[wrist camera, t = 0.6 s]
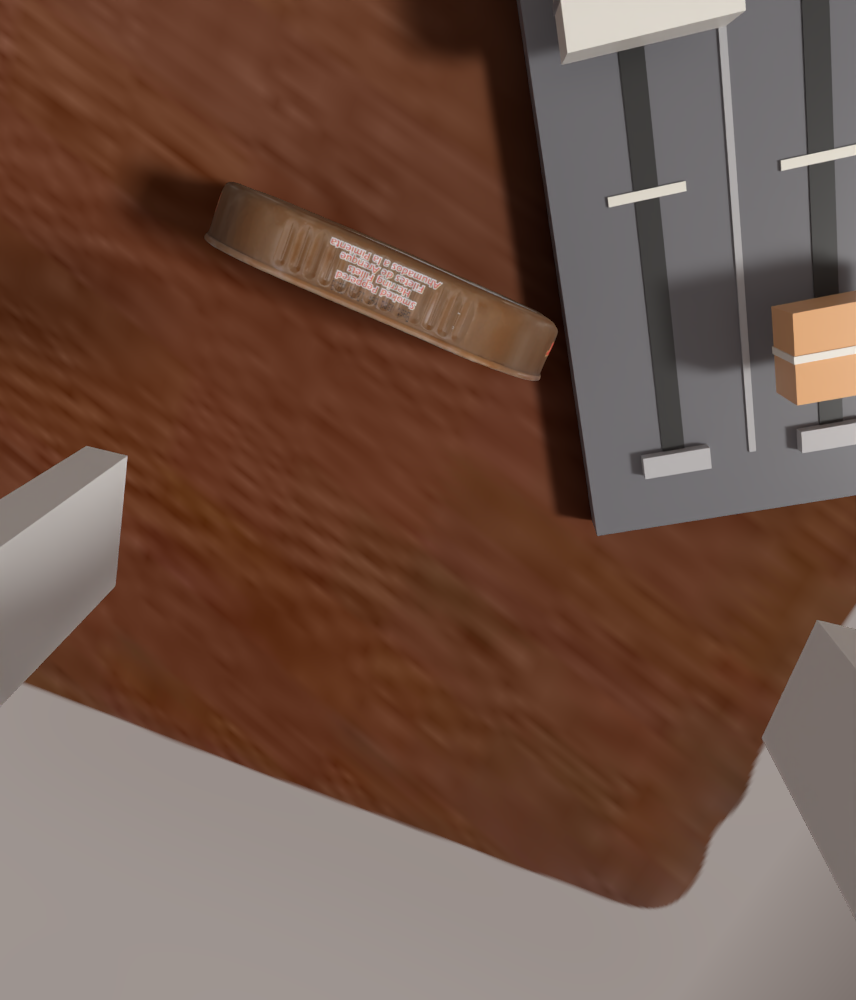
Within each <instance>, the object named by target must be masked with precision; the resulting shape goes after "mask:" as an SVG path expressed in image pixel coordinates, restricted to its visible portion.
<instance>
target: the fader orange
mask: <svg viewBox="0 0 856 1000" xmlns="http://www.w3.org/2000/svg"><path fill="white" fill-rule="evenodd" d="M771 311H772V327H773V344H774V346H773V347H772V354H774V361H775V378H776V393H778V394H780V395H781V396H783V397H784V398H786V399H788V400H789V401H791V402H792V403H794V404H796V405H797V406H798V405H804V404H810V403H815V402H821V401H827V400H833V399H838V398H844V397H850V396H856V290H855V291H850V292H845V293H839V294H834V295H829V296H824V297H818V298H813V299H808V300H803V301H798V302H792V303H787V304H782V305H777V306H771Z"/></svg>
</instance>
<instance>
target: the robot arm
mask: <svg viewBox="0 0 856 1000" xmlns="http://www.w3.org/2000/svg"><path fill="white" fill-rule="evenodd" d="M126 466H127V456H126V455H122V454H118V453H114V452H109V451H105V450H101V449H97V448H93V447H88V446H86V447H84V448H83V449H81V450H79V451H78V452H76V453H75V454H73V455H71V456H70V457H68V458H66V459H65V460H63V461H62V462H60V463H58V464H57V465H55V466H54V467H52V468H50V469H49V470H47V471H45V472H44V473H42V474H41V475H39V476H37V477H36V478H34V479H33V480H31V481H29V482H28V483H26V484H24V485H23V486H21V487H20V488H18V489H16V490H15V491H13V492H12V493H10V494H8V495H7V496H5V497H3V498H2V499H0V706H1V705H2V704H3V703H4V702H5V701H6V700H7V699H8V698H9V697H10V696H11V695H12V694H13V692H14V691H16V690H17V688H18V687H19V686H20V685H21V684H22V683H23V682H24V681H25V680H26V679H27V678H28V677H29V676H30V675H31V674H32V673H33V672H34V671H35V670H36V669H37V668H38V667H39V665H40V664H41V663H42V662H43V661H44V660H45V659H46V658H47V657H48V656H49V655H50V654H51V653H52V652H53V651H54V650H55V649H56V648H57V647H58V646H59V645H60V644H61V642H62V641H63V640H64V639H65V638H66V637H67V636H68V635H69V634H70V633H71V632H72V631H73V630H74V629H75V628H76V627H77V626H78V625H79V624H80V623H81V622H82V620H83V619H84V618H85V617H86V616H87V615H88V614H89V613H90V612H91V611H92V610H93V609H94V608H95V607H96V606H97V605H98V604H99V603H100V602H101V601H102V600H103V599H104V597H105V596H106V595H107V594H108V593H109V592H110V591H111V590H112V589H113V588H114V587H115V584H116V573H117V562H118V552H119V541H120V530H121V520H122V509H123V498H124V488H125V477H126ZM762 740H763V742H764V744H765V745H766V747H767V749H768V751H769V753H770V755H771V757H772V759H773V761H774V763H775V765H776V767H777V769H778V771H779V773H780V774H781V776H782V778H783V780H784V782H785V784H786V786H787V788H788V790H789V792H790V794H791V796H792V798H793V800H794V802H795V804H796V806H797V808H798V809H799V811H800V813H801V815H802V817H803V819H804V821H805V823H806V825H807V827H808V829H809V831H810V833H811V835H812V837H813V839H814V841H815V843H816V845H817V846H818V848H819V850H820V852H821V854H822V856H823V858H824V860H825V862H826V864H827V866H828V868H829V870H830V872H831V874H832V875H833V877H834V880H835V881H836V883H837V885H838V887H839V889H840V891H841V893H842V895H843V897H844V899H845V901H846V903H847V905H848V907H849V909H850V911H851V912H852V914H853V916H854V918H855V920H856V629H852V628H848V627H844V626H840V625H836V624H832V623H828V622H823V621H819V620H817V621H816V623H815V626H814V628H813V630H812V632H811V634H810V636H809V638H808V640H807V643H806V645H805V647H804V649H803V651H802V653H801V655H800V657H799V660H798V662H797V664H796V666H795V668H794V670H793V672H792V675H791V677H790V679H789V681H788V683H787V685H786V687H785V689H784V692H783V694H782V696H781V698H780V700H779V702H778V704H777V706H776V709H775V711H774V713H773V715H772V717H771V719H770V721H769V724H768V726H767V728H766V730H765V732H764V734H763V736H762Z"/></svg>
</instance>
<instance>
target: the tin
mask: <svg viewBox="0 0 856 1000" xmlns="http://www.w3.org/2000/svg"><path fill="white" fill-rule="evenodd" d="M204 238H205V240H206V241H207V242H208V243H209V244H211V245H212V246H214V247H215V248H217V249H219V250H221V251H223V252H224V253H226V254H229V255H230V256H232V257H234V258H236V259H238V260H240V261H242V262H244V263H246V264H249V265H251V266H253V267H255V268H257V269H259V270H262V271H263V272H266V273H269V274H271V275H273V276H275V277H277V278H280V279H282V280H284V281H287V282H289V283H291V284H294V285H296V286H298V287H300V288H303V289H305V290H307V291H310V292H312V293H315V294H317V295H319V296H321V297H324V298H326V299H328V300H331V301H333V302H335V303H337V304H340V305H343V306H345V307H347V308H349V309H352V310H354V311H357V312H359V313H361V314H364V315H366V316H368V317H370V318H373V319H375V320H377V321H380V322H382V323H384V324H387V325H389V326H392V327H394V328H396V329H399V330H401V331H403V332H405V333H407V334H410V335H412V336H415V337H417V338H419V339H422V340H424V341H426V342H428V343H431V344H433V345H435V346H438V347H440V348H442V349H444V350H447V351H449V352H451V353H454V354H456V355H458V356H461V357H463V358H466V359H468V360H471V361H473V362H476V363H479V364H481V365H484V366H487V367H489V368H491V369H494V370H498V371H500V372H504V373H506V374H509V375H512V376H515V377H518V378H522V379H526V380H530V381H538V380H539V379H540V377H541V375H540V372H541V370H542V368H543V365H544V363H545V361H546V359H547V357H548V355H549V352H550V350H551V348H552V346H553V344H554V341H555V339H556V336H557V333H558V330H557V328H556V326H555V324H554V323H553V322H552V321H551V320H550V319H548V318H546V317H545V316H544V315H543V314H541V313H539V312H538V311H536V310H533V309H531V308H529V307H527V306H525V305H522V304H520V303H518V302H516V301H514V300H511V299H509V298H507V297H505V296H503V295H500V294H498V293H496V292H493V291H491V290H489V289H487V288H484V287H482V286H480V285H478V284H475V283H473V282H471V281H469V280H466V279H464V278H462V277H460V276H457V275H455V274H453V273H451V272H449V271H447V270H444V269H442V268H440V267H438V266H436V265H433V264H431V263H429V262H427V261H425V260H422V259H420V258H418V257H416V256H414V255H411V254H409V253H407V252H404V251H402V250H400V249H398V248H395V247H393V246H391V245H389V244H386V243H384V242H381V241H379V240H377V239H374V238H372V237H370V236H367V235H365V234H363V233H360V232H358V231H355V230H353V229H351V228H348V227H346V226H343V225H341V224H338V223H336V222H333V221H331V220H329V219H326V218H324V217H322V216H319V215H317V214H315V213H312V212H310V211H307V210H305V209H303V208H300V207H298V206H295V205H293V204H291V203H288V202H286V201H283V200H281V199H279V198H276V197H274V196H271V195H268V194H266V193H263V192H260V191H256V190H254V189H251V188H249V187H246V186H244V185H241V184H238V183H235V182H229V183H227V184H226V185H225V186H224V188H223V190H222V192H221V195H220V198H219V201H218V204H217V207H216V210H215V213H214V217H213V220H212V223H211V226H210V229H209V231H208V232H207V233H206V234H205V236H204Z"/></svg>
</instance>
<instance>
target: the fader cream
mask: <svg viewBox="0 0 856 1000" xmlns="http://www.w3.org/2000/svg"><path fill="white" fill-rule="evenodd" d="M552 9H553V16H555V20H556V27H557V35H558V43H559V50H560V58H561V65H564V64H568V63H572V62H576V61H581V60H585V59H589V58H593V57H597V56H602V55H606V54H610V53H614V52H618V51H623V50H627V49H631V48H635V47H639V46H644V45H648V44H652V43H656V42H661V41H665V40H669V39H673V38H677V37H682V36H686V35H690V34H694V33H698V32H703V31H707V30H711V29H715V28H719V27H724V26H726V25H728V24H729V23H730V22H732V21H733V20H734V19H735V18H737V17H738V16H739V15H741V14H742V13H743V12H744V11H746V4H745V0H553V7H552Z"/></svg>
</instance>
